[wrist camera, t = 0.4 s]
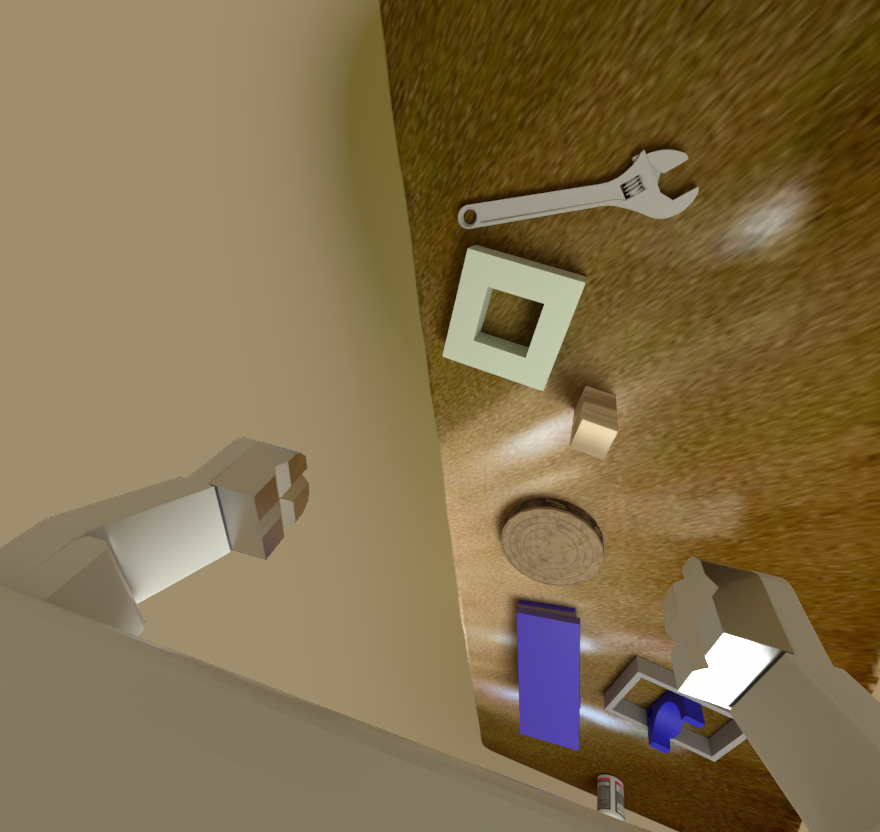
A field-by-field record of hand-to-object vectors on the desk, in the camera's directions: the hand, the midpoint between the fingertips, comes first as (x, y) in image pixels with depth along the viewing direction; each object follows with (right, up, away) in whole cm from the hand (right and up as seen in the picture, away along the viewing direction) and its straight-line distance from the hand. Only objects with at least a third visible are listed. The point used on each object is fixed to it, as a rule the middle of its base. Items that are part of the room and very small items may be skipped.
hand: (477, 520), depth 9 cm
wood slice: (+18, -18, +60) cm, 65 cm away
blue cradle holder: (+42, -49, +67) cm, 93 cm away
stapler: (+21, -44, +73) cm, 88 cm away
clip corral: (+42, -49, +67) cm, 93 cm away
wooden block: (+20, +4, +47) cm, 52 cm away
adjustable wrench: (+14, +27, +38) cm, 49 cm away
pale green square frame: (+9, +15, +46) cm, 49 cm away
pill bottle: (+37, -79, +85) cm, 122 cm away
